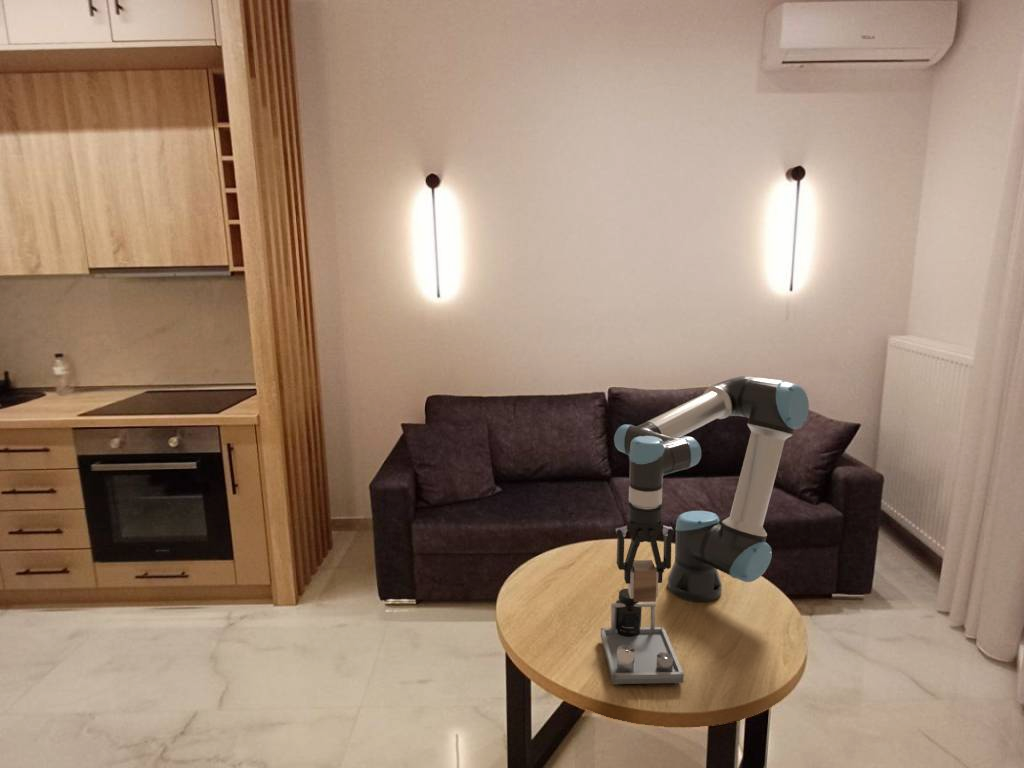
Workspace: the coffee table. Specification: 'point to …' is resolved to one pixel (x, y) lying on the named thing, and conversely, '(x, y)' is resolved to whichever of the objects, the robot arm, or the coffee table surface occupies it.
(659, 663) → the silver metal dome
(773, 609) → the coffee table surface
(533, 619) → the coffee table surface
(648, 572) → the walnut block
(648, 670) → the grey tray with handle
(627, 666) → the silver rounded piece
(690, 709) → the coffee table surface
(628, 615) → the supplement bottle
